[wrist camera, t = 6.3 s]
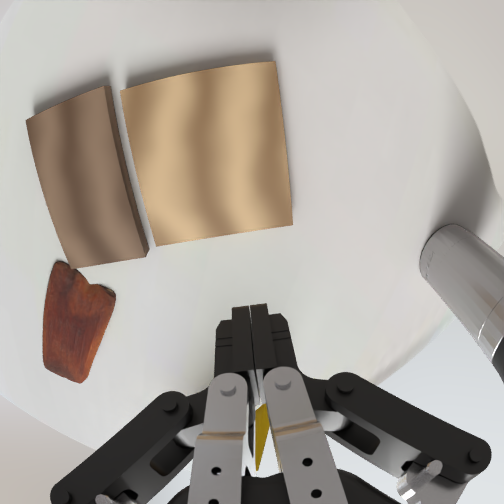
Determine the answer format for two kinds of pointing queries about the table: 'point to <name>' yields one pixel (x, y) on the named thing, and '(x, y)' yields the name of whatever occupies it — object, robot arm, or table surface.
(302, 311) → the table surface
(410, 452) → the robot arm
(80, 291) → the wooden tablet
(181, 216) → the light wood board
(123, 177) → the walnut board
